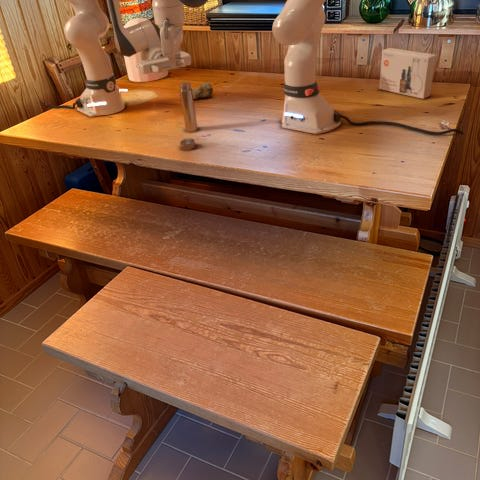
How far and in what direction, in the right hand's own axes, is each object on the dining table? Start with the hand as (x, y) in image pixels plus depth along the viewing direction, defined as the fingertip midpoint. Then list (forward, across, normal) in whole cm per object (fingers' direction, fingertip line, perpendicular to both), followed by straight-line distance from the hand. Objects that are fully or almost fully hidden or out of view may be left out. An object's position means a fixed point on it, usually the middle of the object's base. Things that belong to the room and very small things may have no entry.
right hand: (176, 64), depth 146 cm
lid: (+26, 0, 0) cm, 26 cm away
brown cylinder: (+28, +16, +1) cm, 32 cm away
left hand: (+7, +27, +7) cm, 29 cm away
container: (+28, +97, +33) cm, 106 cm away
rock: (+28, +56, +1) cm, 62 cm away
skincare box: (+28, +40, -84) cm, 97 cm away
